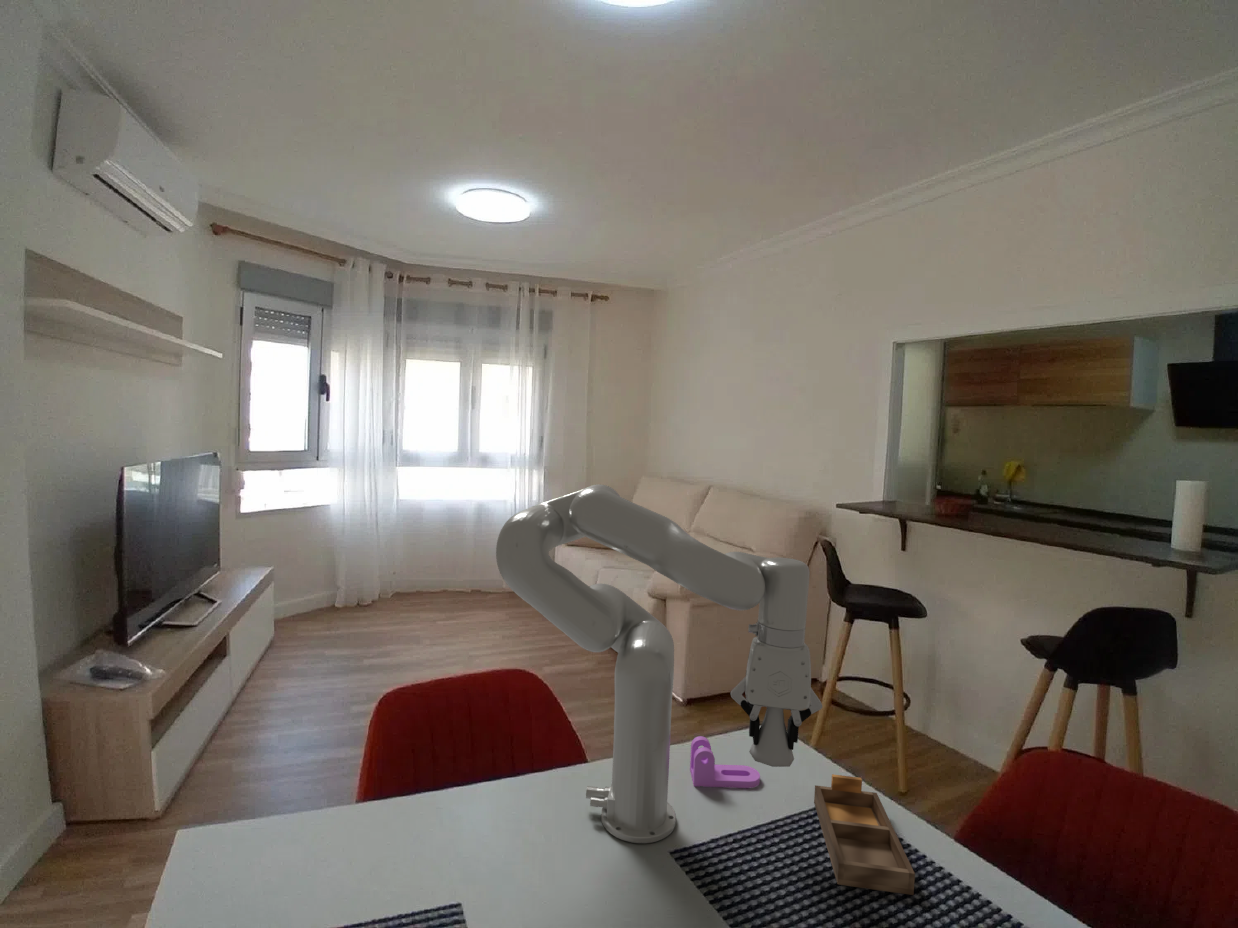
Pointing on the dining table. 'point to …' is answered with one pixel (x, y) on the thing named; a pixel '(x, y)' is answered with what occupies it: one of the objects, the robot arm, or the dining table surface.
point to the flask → (773, 741)
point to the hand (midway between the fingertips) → (772, 742)
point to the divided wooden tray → (861, 838)
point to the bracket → (718, 769)
